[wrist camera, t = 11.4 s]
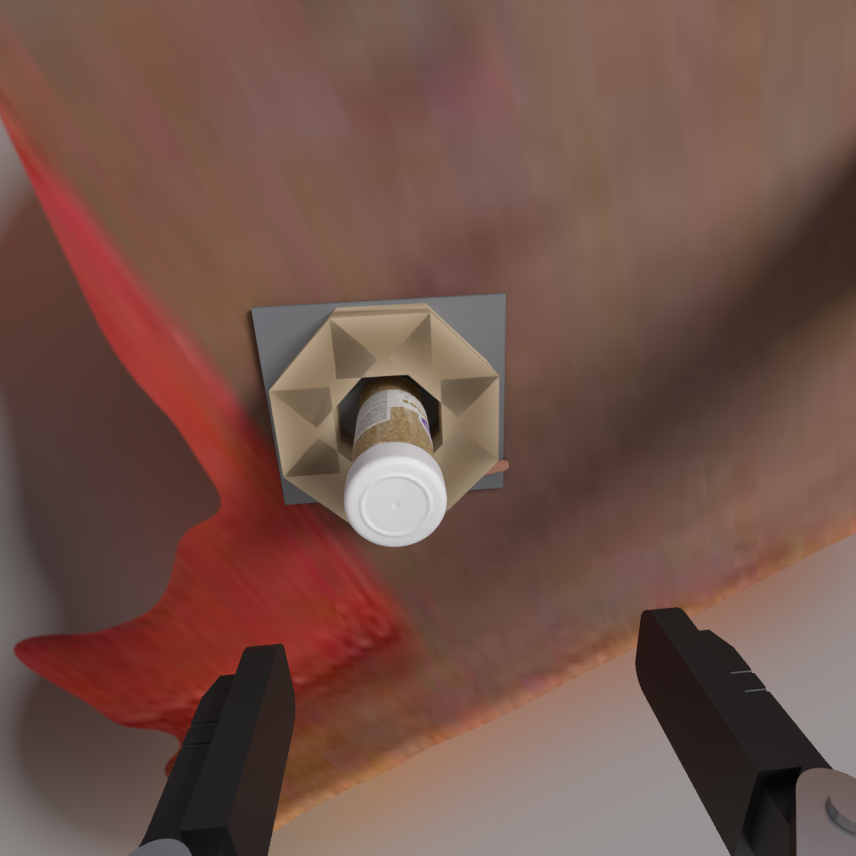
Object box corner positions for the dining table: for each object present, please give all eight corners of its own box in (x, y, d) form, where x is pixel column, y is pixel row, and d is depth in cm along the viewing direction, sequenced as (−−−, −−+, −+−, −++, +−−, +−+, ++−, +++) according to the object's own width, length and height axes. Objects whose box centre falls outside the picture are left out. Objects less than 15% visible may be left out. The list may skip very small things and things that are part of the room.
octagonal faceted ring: (486, 299, 32) (499, 308, 28) (486, 486, 37) (497, 514, 33) (272, 311, 31) (256, 322, 27) (302, 500, 36) (292, 531, 32)
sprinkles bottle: (437, 411, 34) (468, 515, 22) (384, 447, 35) (385, 568, 23) (398, 358, 33) (408, 438, 20) (343, 398, 33) (320, 498, 21)
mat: (503, 293, 32) (505, 294, 32) (501, 483, 38) (503, 487, 37) (253, 307, 31) (251, 308, 31) (286, 500, 37) (285, 505, 36)
